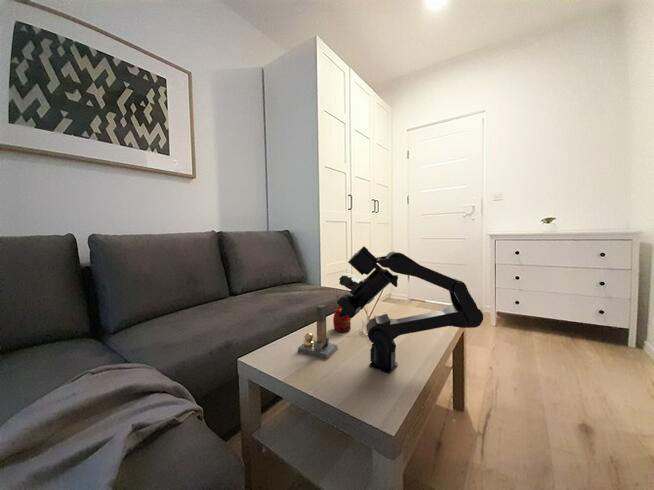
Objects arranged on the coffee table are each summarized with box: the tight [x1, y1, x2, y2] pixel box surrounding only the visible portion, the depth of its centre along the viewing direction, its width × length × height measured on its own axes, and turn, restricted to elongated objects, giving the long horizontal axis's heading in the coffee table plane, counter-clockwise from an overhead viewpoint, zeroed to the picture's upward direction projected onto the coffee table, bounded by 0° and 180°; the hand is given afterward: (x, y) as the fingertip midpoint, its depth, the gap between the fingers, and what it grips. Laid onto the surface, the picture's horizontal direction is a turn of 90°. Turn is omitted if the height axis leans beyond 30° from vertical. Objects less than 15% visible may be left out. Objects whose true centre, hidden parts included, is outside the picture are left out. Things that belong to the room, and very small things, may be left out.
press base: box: [297, 332, 338, 360], centre depth 85 cm, size 11×8×5 cm
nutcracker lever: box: [316, 304, 327, 347], centre depth 84 cm, size 2×3×14 cm, turn 152°
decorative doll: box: [332, 293, 352, 333], centre depth 103 cm, size 8×7×15 cm
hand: (339, 316), depth 80 cm, fingers closed
